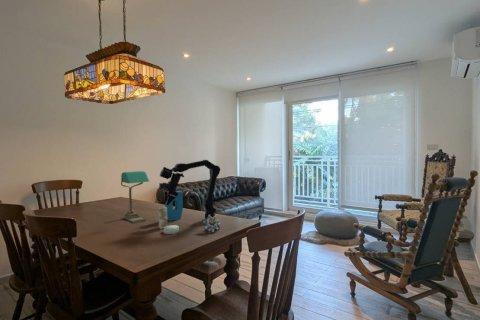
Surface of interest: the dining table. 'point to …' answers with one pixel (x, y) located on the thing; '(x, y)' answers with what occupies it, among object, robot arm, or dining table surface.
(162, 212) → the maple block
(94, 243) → the dining table surface
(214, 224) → the passion flower
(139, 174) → the banker's lamp
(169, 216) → the block
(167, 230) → the plinth
